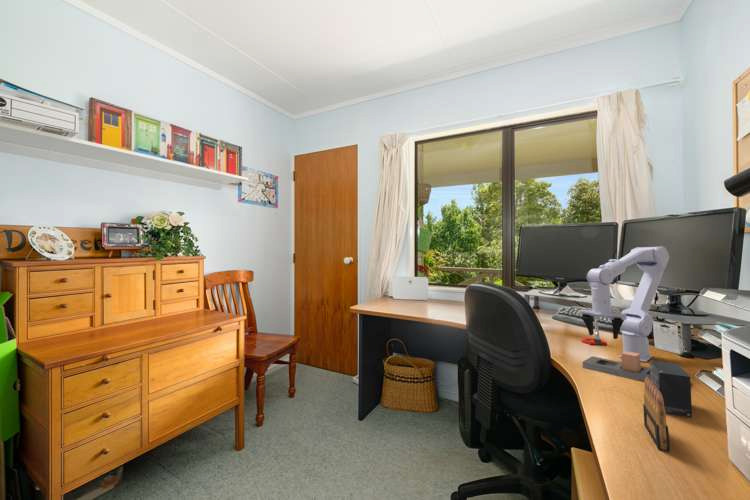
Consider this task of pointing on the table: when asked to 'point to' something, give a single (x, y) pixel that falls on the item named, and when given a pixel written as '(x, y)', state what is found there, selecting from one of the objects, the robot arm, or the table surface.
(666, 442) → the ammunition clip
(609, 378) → the table surface
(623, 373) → the grey slotted board
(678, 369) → the small box
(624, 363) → the peg
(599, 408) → the table surface
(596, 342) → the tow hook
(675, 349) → the ink box
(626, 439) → the table surface
